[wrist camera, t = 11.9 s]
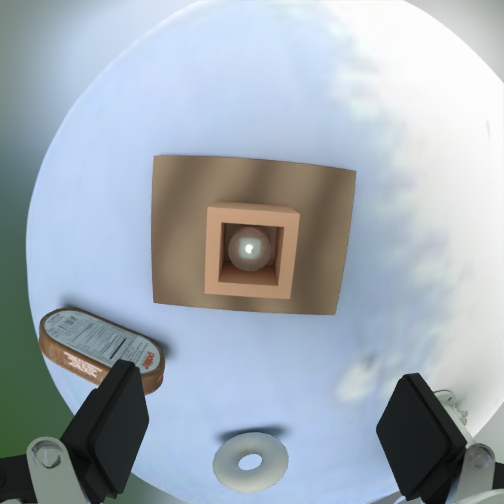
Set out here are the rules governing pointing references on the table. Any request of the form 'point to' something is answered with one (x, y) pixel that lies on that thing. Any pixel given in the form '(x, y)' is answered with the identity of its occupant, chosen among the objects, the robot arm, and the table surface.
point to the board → (242, 191)
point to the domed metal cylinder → (249, 247)
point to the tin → (98, 347)
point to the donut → (258, 477)
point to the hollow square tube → (268, 277)
